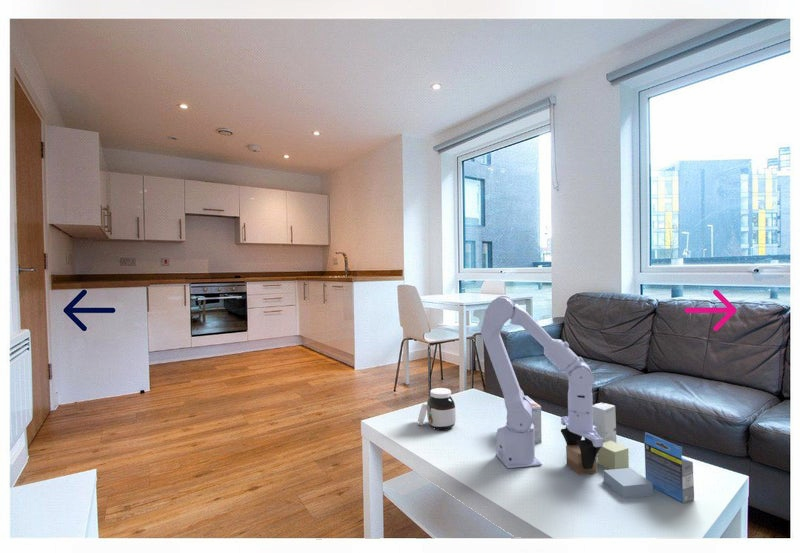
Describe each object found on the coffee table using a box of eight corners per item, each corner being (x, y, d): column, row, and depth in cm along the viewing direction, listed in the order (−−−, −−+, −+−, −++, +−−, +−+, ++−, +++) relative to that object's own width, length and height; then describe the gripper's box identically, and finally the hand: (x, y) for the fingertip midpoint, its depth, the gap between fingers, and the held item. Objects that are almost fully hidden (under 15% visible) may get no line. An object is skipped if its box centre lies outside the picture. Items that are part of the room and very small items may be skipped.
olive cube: (615, 472, 97) (614, 452, 97) (597, 463, 101) (597, 444, 101) (628, 467, 99) (628, 448, 99) (611, 459, 103) (610, 440, 103)
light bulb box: (507, 429, 124) (506, 396, 124) (527, 428, 124) (527, 395, 124) (520, 444, 113) (520, 407, 113) (542, 443, 114) (542, 406, 113)
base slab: (623, 499, 86) (623, 486, 86) (603, 482, 93) (603, 470, 93) (652, 496, 86) (652, 483, 86) (630, 480, 93) (630, 467, 93)
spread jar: (459, 429, 124) (458, 393, 124) (428, 435, 120) (427, 398, 120) (441, 417, 136) (440, 384, 135) (412, 422, 131) (411, 388, 131)
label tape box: (695, 500, 84) (694, 444, 84) (682, 504, 83) (681, 447, 83) (656, 480, 93) (655, 429, 92) (644, 483, 91) (643, 431, 91)
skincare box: (605, 454, 106) (605, 410, 106) (590, 448, 110) (589, 405, 109) (617, 448, 109) (616, 405, 109) (601, 442, 113) (601, 401, 113)
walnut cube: (578, 474, 96) (577, 454, 96) (566, 464, 101) (566, 445, 101) (596, 472, 97) (596, 452, 96) (584, 462, 101) (583, 443, 101)
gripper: (614, 419, 92) (615, 475, 92) (577, 399, 106) (578, 448, 106) (587, 421, 91) (588, 478, 91) (553, 401, 105) (554, 450, 105)
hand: (581, 462), depth 99 cm, fingers closed on walnut cube, 5 cm apart
